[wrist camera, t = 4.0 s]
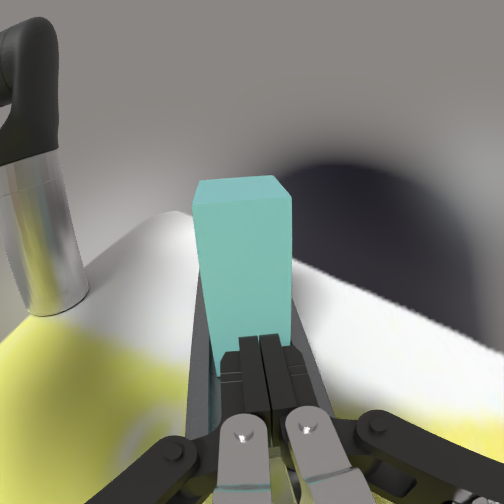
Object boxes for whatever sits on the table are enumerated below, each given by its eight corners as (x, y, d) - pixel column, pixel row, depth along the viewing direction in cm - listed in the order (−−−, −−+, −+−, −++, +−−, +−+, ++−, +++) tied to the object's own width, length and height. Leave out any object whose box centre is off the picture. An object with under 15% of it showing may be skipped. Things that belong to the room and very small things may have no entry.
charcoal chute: (337, 446, 16) (345, 420, 15) (189, 462, 15) (178, 439, 14) (278, 272, 37) (277, 249, 36) (201, 279, 36) (197, 255, 35)
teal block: (289, 369, 21) (291, 197, 16) (217, 376, 20) (191, 204, 15) (276, 319, 26) (272, 175, 21) (216, 325, 26) (199, 180, 21)
